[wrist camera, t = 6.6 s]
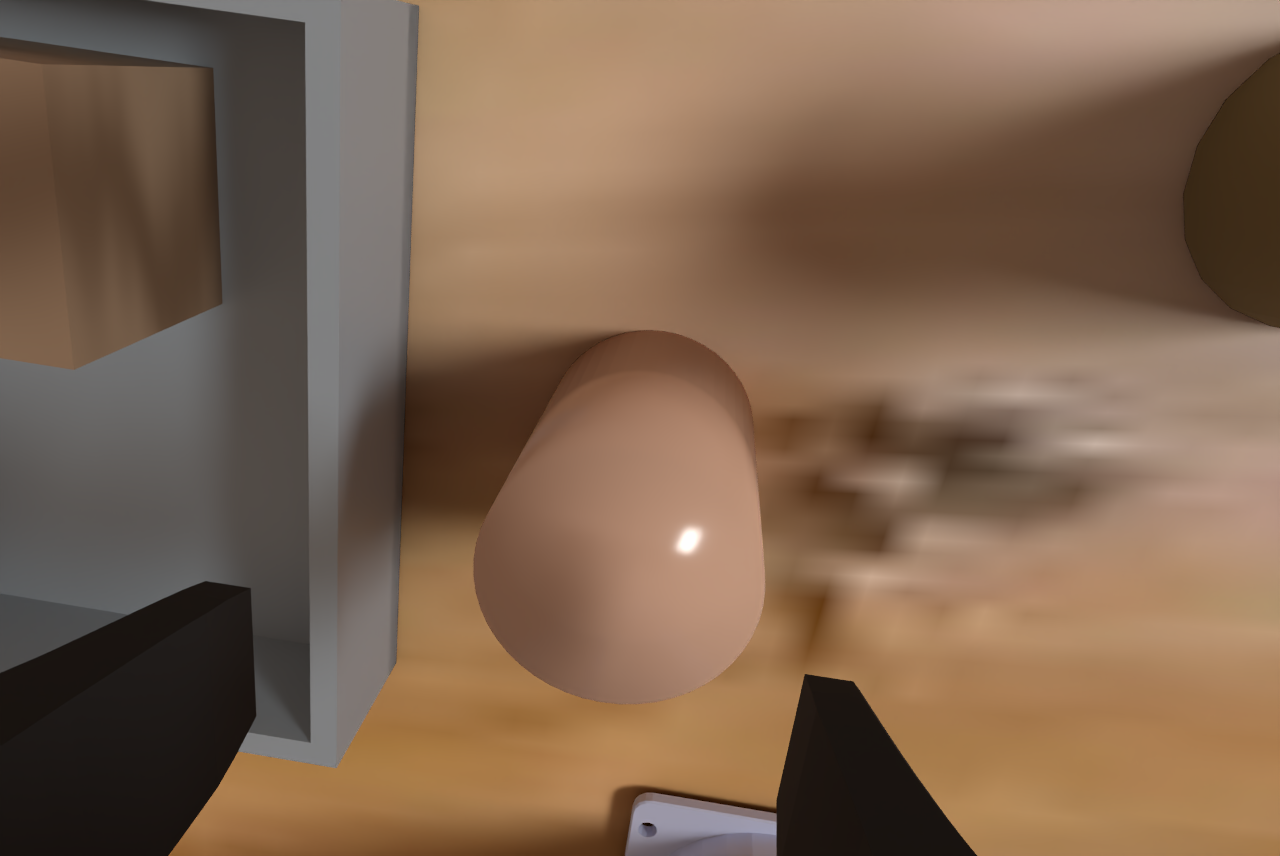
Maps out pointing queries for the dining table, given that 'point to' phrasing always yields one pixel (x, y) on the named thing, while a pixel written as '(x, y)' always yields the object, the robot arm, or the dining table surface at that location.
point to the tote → (242, 372)
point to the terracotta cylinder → (630, 526)
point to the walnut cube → (103, 200)
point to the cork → (1240, 199)
